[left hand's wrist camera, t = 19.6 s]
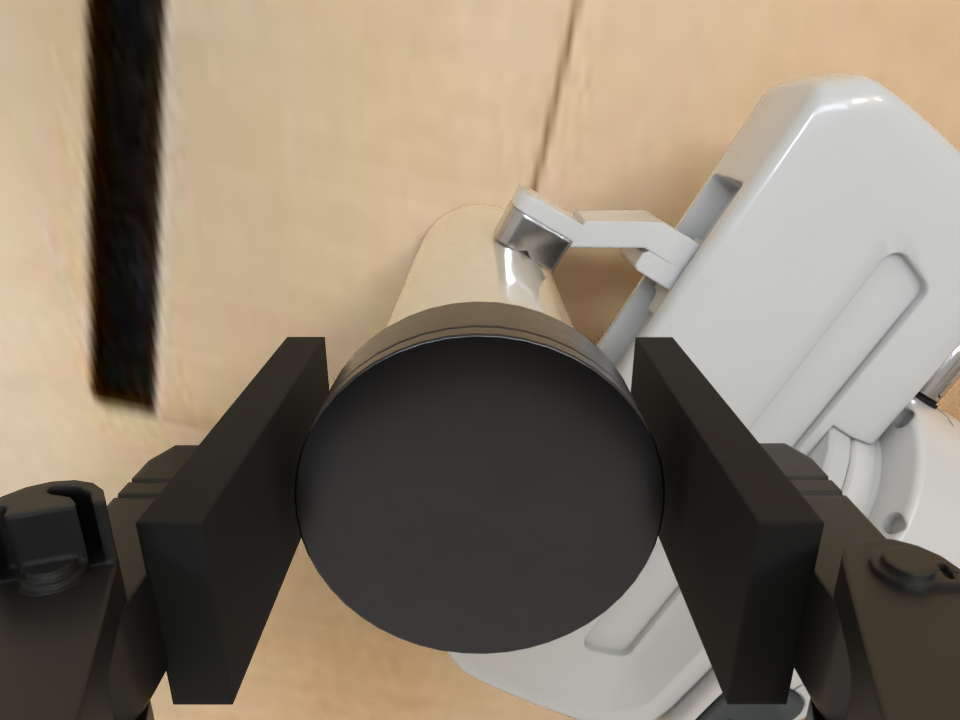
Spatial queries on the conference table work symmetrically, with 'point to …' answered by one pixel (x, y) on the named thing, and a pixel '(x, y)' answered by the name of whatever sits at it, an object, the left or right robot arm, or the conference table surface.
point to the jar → (475, 269)
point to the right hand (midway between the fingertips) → (451, 305)
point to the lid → (479, 480)
